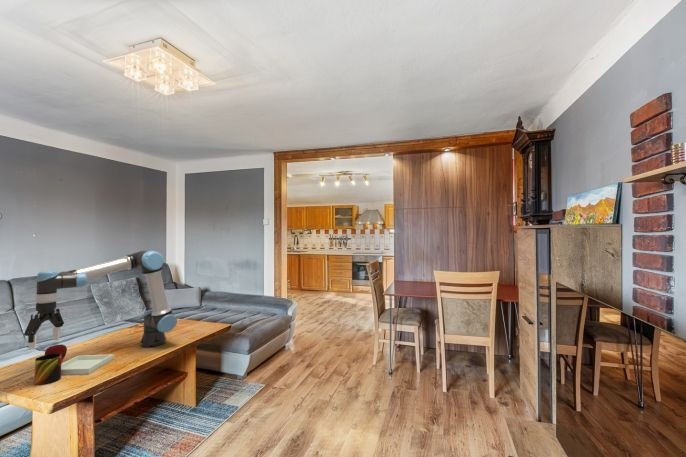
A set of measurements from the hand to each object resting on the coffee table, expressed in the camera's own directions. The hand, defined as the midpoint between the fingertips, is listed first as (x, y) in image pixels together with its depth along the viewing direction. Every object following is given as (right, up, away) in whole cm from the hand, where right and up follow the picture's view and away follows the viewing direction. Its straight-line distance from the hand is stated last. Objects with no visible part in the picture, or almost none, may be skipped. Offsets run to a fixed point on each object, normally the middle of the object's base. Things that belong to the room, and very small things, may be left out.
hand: (44, 344), depth 155 cm
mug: (0, -19, 0) cm, 19 cm away
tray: (+6, -19, +16) cm, 25 cm away
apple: (-16, -19, +23) cm, 34 cm away
